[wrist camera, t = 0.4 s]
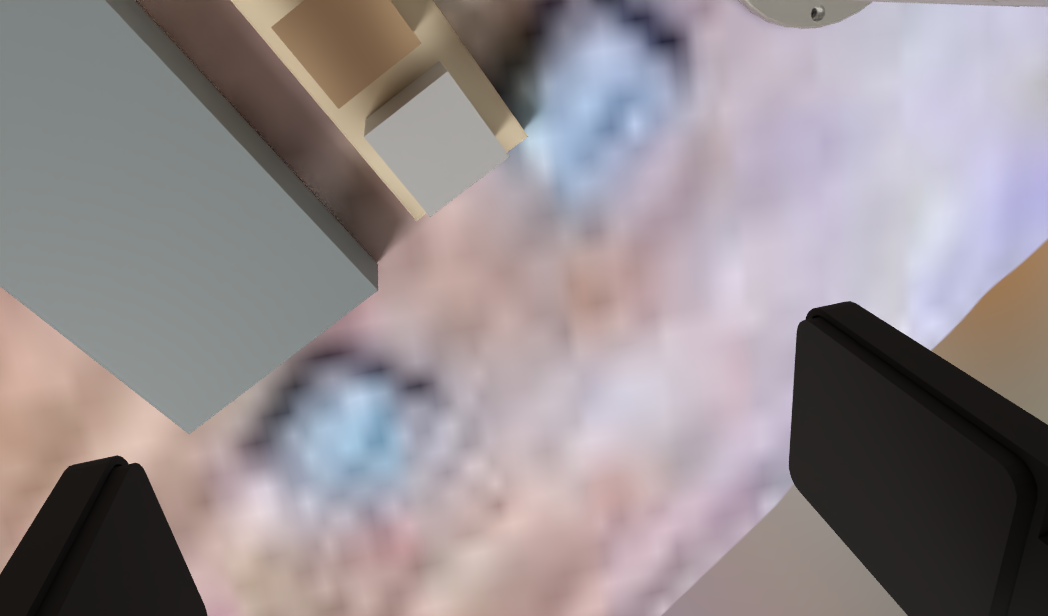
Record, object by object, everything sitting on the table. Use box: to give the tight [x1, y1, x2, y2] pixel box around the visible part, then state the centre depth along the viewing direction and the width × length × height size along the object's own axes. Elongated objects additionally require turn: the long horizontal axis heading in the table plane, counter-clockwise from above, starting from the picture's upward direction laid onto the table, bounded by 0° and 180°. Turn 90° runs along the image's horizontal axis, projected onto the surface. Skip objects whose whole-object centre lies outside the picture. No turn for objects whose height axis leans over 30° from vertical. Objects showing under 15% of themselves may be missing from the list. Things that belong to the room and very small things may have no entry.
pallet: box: [231, 0, 528, 221], centre depth 33 cm, size 8×20×10 cm, turn 35°
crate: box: [364, 61, 510, 217], centre depth 36 cm, size 5×5×5 cm
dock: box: [0, 0, 378, 434], centre depth 36 cm, size 14×22×4 cm, turn 35°
